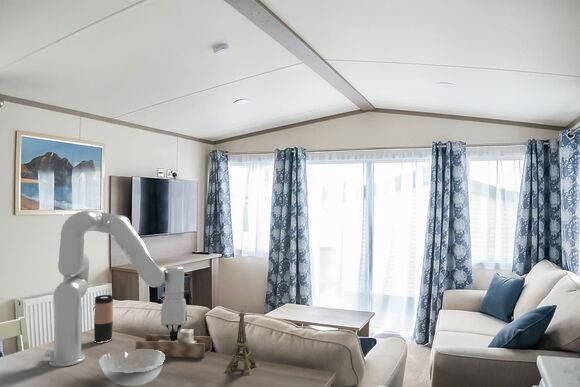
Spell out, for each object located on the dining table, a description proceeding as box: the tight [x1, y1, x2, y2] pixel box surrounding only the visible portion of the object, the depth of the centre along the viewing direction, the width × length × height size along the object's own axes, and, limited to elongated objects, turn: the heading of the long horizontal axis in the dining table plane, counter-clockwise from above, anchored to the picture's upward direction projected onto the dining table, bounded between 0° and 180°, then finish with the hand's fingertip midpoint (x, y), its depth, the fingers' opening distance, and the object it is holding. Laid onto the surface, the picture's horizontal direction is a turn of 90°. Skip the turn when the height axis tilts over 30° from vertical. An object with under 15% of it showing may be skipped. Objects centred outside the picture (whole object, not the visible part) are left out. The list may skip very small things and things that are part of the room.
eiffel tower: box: [222, 310, 260, 376], centre depth 153 cm, size 11×11×25 cm
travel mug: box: [93, 294, 114, 342], centre depth 185 cm, size 8×8×20 cm
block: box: [178, 328, 195, 343], centre depth 170 cm, size 5×5×5 cm
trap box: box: [135, 334, 212, 359], centre depth 170 cm, size 29×10×6 cm, turn 84°
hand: (174, 340), depth 170 cm, fingers closed
